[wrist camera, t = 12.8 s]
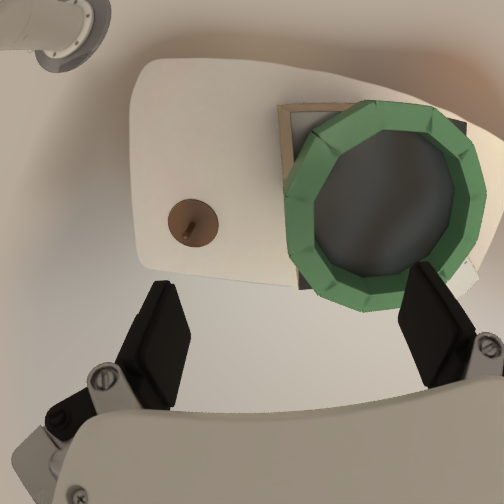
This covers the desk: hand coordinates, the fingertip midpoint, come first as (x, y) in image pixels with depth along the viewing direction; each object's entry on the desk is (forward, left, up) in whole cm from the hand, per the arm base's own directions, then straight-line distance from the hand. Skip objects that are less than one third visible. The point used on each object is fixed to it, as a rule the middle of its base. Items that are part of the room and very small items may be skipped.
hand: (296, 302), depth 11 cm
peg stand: (-15, -12, -37) cm, 41 cm away
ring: (+8, -1, -11) cm, 13 cm away
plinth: (+8, -1, -37) cm, 38 cm away
